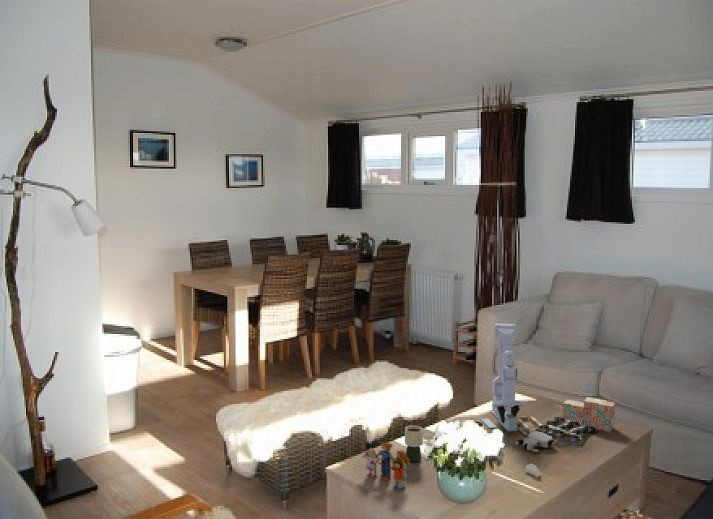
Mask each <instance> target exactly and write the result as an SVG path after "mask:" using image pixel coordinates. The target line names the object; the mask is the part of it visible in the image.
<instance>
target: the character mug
mask: <svg viewBox="0 0 713 519" xmlns="http://www.w3.org/2000/svg"><path fill="white" fill-rule="evenodd" d="M404 444H405V445H406V451H405V454H406V456H407V458H409V462H419V461H421V460H422V453H421V452H422V451H421V446H423V445H424V430H423V427H421V426H419V425H408V426H405V428H404Z"/></svg>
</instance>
